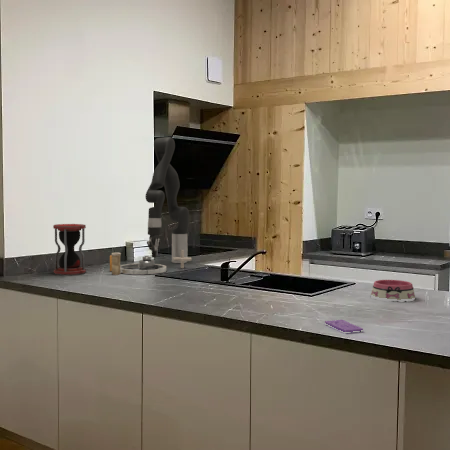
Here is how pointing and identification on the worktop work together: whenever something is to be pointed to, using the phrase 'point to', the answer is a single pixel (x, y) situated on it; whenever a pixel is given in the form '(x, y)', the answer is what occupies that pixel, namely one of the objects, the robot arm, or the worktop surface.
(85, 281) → the worktop surface
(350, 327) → the sponges
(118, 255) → the gauge stand
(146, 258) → the cover
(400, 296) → the dog bowl
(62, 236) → the hourglass
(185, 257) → the pipe connector
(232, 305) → the worktop surface
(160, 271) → the ring
